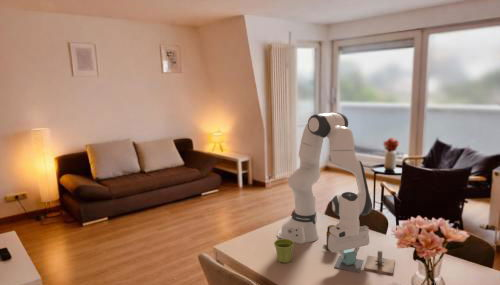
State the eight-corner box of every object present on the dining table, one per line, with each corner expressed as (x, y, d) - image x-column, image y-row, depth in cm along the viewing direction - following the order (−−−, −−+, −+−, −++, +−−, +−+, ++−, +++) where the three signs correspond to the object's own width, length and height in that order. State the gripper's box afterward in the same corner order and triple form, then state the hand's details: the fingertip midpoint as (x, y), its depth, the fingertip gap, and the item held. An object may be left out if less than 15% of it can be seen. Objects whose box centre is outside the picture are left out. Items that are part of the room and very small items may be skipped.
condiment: (339, 253, 172) (339, 230, 170) (321, 251, 175) (321, 228, 173) (339, 246, 179) (340, 224, 177) (323, 244, 182) (323, 223, 179)
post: (363, 269, 157) (364, 255, 155) (367, 257, 167) (367, 243, 166) (392, 275, 151) (393, 260, 150) (394, 262, 162) (395, 248, 161)
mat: (334, 268, 159) (334, 266, 159) (339, 256, 169) (339, 255, 169) (359, 272, 154) (359, 271, 154) (362, 261, 164) (362, 259, 164)
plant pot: (271, 257, 170) (270, 241, 169) (288, 253, 174) (287, 237, 172) (280, 266, 162) (279, 249, 160) (297, 262, 165) (297, 244, 164)
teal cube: (341, 260, 163) (341, 250, 162) (349, 258, 164) (349, 248, 164) (347, 265, 158) (347, 254, 158) (356, 262, 160) (356, 252, 159)
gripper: (364, 222, 165) (363, 249, 167) (326, 229, 158) (326, 258, 161) (372, 227, 159) (372, 255, 161) (333, 235, 152) (333, 264, 155)
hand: (348, 256), depth 161 cm, fingers closed on teal cube, 5 cm apart
